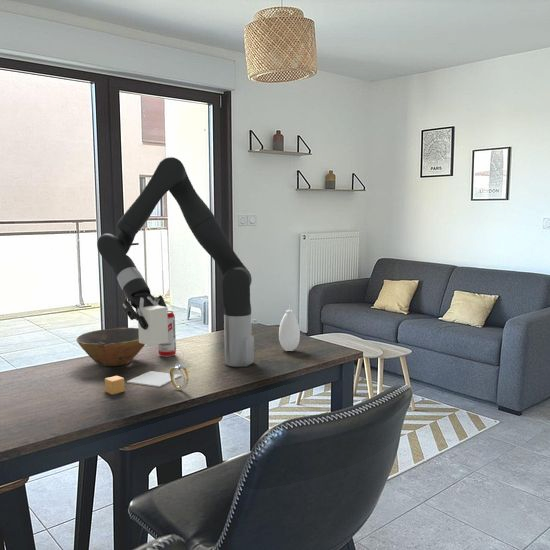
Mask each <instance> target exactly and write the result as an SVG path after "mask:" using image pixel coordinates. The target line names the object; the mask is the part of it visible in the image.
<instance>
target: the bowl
mask: <svg viewBox="0 0 550 550" xmlns="http://www.w3.org/2000/svg"><path fill="white" fill-rule="evenodd" d="M76 342H77V343H78V345H79V346H80V347H81V349H82V350H83V351H84V352H85V353H86V354H87V356H89V357H90V358H91V360H92V361H94V362H95V363H96V364H98V365H100V366H103V367H112V366H113V367H115V366H124V365H127V364H130V362H131V361H132V360H133V359H134V358H135V357H136V356H137V355H138V353H140V352H141V350H142V349H143V348H144V346H146V345H145V344H142V343H139V331H138V327H114V328H107V329H98V330H92V331H88V332H85V333H82V334H81V335H79V336H78V337H77V338H76Z"/></svg>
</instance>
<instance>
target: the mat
mask: <svg viewBox="0 0 550 550" xmlns="http://www.w3.org/2000/svg"><path fill="white" fill-rule="evenodd" d="M181 377H183V374H179V373H178V374H177V373H174V378H175V380H177V379H179V378H181ZM126 383H127V384H135V385H141V386H148V387H155V388H161V387H163V386H165V385H167V384H169V383H172V381H171V378H170V372H168V373H167V372H161V371H154V370H149V371H147V372H144V373H143V374H141V375H139V376H135V377H133V378H132V379H129V380H127V381H126Z"/></svg>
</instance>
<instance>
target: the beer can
mask: <svg viewBox="0 0 550 550" xmlns="http://www.w3.org/2000/svg"><path fill="white" fill-rule="evenodd" d="M167 316H168V342H167V343H162V344H158V349H157V351H158V355H159V356H160V357H161V358H170V357H174V356H175V355H176V353H177V344H176V316H175V314H174V310H167Z"/></svg>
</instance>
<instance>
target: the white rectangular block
mask: <svg viewBox="0 0 550 550" xmlns="http://www.w3.org/2000/svg"><path fill="white" fill-rule="evenodd" d="M167 308H168V306H167V307H164V306H148V307H143V308H141V312H142V314H143V315H142V316H144V318H145V320H146V322H147V323H148V328H147V329H146V330H144V329H143V328H142V327H141V326H140V324H139V322H138V321H137V326H138V327H137V328H138V331H139V343H142V344H145V345H144V346H146V345H147V346H149V347H154V346H156V345H158V344H162V343H167V342H168V316H167V311H168V310H167ZM138 309H139V308H138Z"/></svg>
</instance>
